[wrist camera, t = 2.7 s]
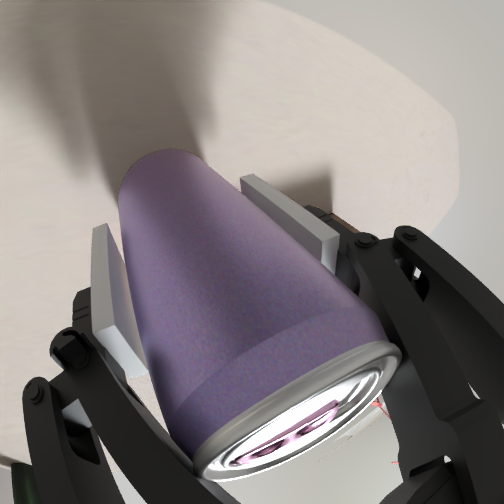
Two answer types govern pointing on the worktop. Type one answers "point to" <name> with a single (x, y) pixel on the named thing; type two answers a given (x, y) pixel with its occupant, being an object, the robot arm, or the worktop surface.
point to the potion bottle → (24, 485)
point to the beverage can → (240, 322)
